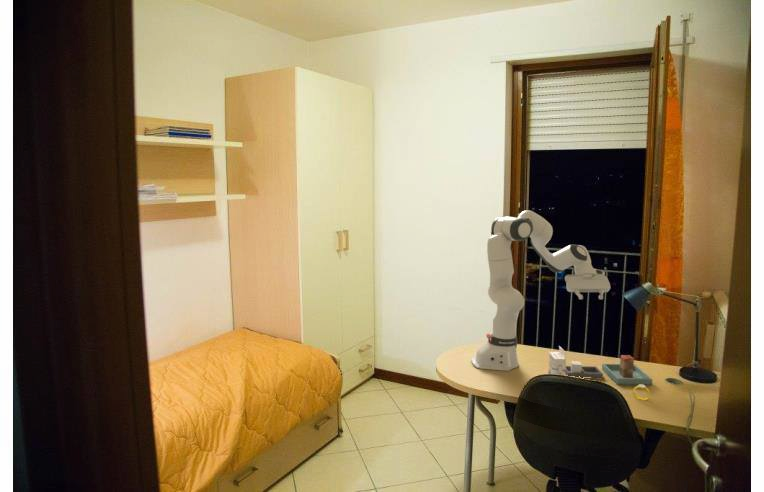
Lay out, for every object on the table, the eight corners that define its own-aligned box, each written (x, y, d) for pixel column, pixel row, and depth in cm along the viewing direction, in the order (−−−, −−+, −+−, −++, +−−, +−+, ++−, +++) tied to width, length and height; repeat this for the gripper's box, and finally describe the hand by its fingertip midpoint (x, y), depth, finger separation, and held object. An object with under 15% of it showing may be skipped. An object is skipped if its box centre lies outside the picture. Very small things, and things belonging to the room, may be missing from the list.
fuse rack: (568, 378, 213) (568, 373, 213) (562, 370, 221) (562, 365, 221) (602, 378, 212) (602, 373, 212) (595, 371, 220) (596, 366, 220)
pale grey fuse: (571, 376, 215) (572, 364, 214) (570, 373, 219) (571, 360, 218) (581, 377, 214) (581, 364, 213) (579, 373, 218) (580, 361, 217)
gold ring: (632, 399, 193) (632, 385, 193) (633, 396, 196) (633, 383, 195) (649, 402, 190) (649, 388, 190) (650, 399, 192) (650, 385, 192)
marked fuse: (623, 377, 212) (624, 358, 210) (619, 373, 215) (620, 355, 214) (632, 377, 211) (633, 358, 210) (628, 374, 215) (629, 355, 214)
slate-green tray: (617, 385, 206) (617, 378, 205) (602, 369, 222) (602, 363, 222) (651, 385, 205) (652, 379, 204) (634, 370, 221) (634, 364, 221)
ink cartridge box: (547, 375, 216) (548, 345, 214) (558, 375, 216) (559, 345, 214) (553, 384, 208) (555, 352, 205) (565, 384, 207) (566, 352, 205)
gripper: (565, 271, 235) (571, 295, 227) (607, 271, 234) (614, 295, 225) (562, 278, 240) (567, 301, 232) (603, 278, 239) (610, 302, 231)
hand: (591, 298), depth 229 cm, fingers open, 8 cm apart
